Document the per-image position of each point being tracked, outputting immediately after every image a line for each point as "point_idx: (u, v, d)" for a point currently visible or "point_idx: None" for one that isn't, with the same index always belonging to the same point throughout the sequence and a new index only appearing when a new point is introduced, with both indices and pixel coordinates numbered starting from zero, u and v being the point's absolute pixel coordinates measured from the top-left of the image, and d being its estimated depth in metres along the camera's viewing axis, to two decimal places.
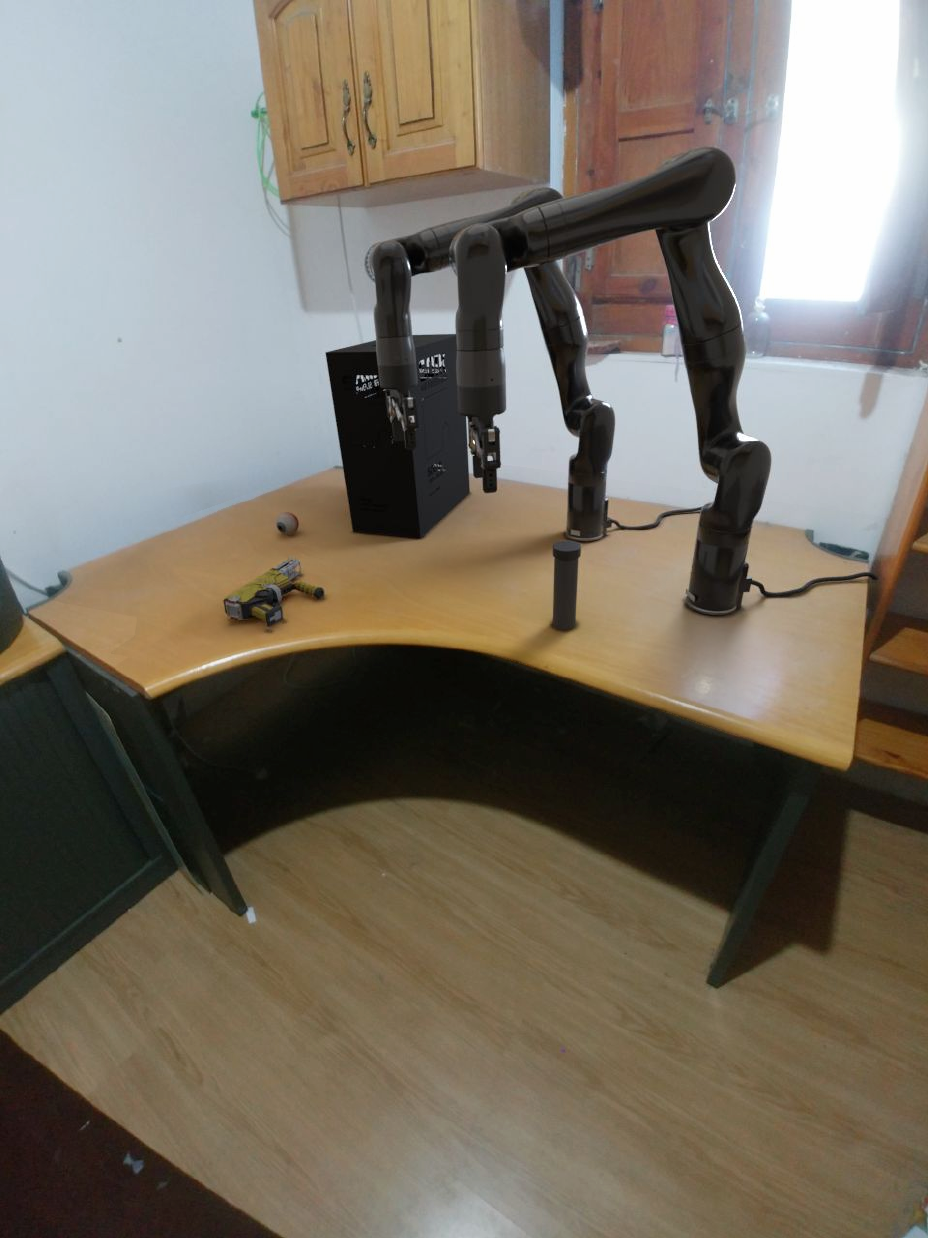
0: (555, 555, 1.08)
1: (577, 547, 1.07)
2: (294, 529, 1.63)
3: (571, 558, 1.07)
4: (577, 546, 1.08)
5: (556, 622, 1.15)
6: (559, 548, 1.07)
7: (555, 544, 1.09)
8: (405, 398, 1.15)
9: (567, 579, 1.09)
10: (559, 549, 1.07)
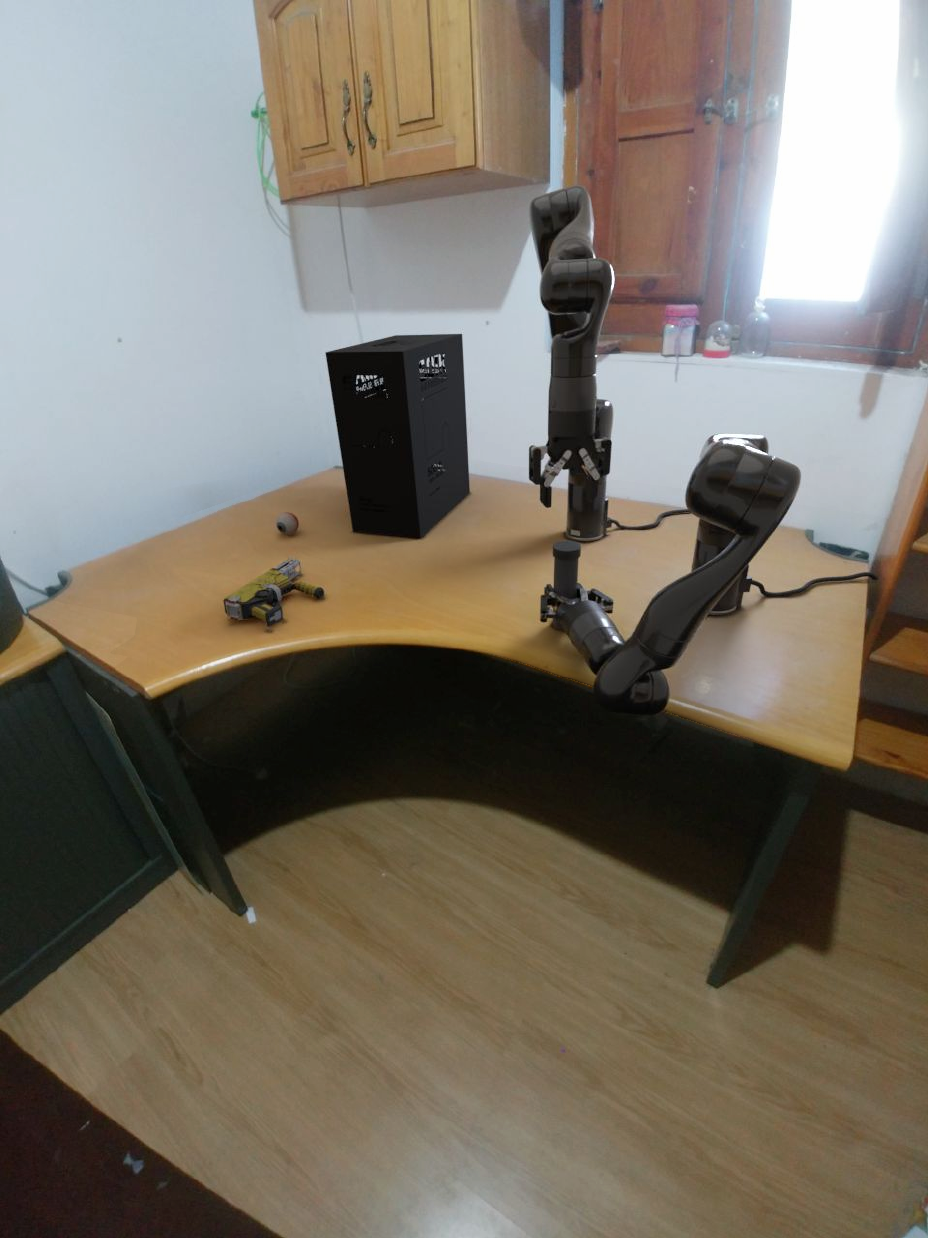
0: (555, 555, 1.08)
1: (577, 547, 1.07)
2: (294, 529, 1.63)
3: (571, 558, 1.07)
4: (577, 546, 1.08)
5: (556, 622, 1.15)
6: (559, 548, 1.07)
7: (555, 544, 1.09)
8: (609, 439, 1.00)
9: (567, 579, 1.09)
10: (559, 549, 1.07)
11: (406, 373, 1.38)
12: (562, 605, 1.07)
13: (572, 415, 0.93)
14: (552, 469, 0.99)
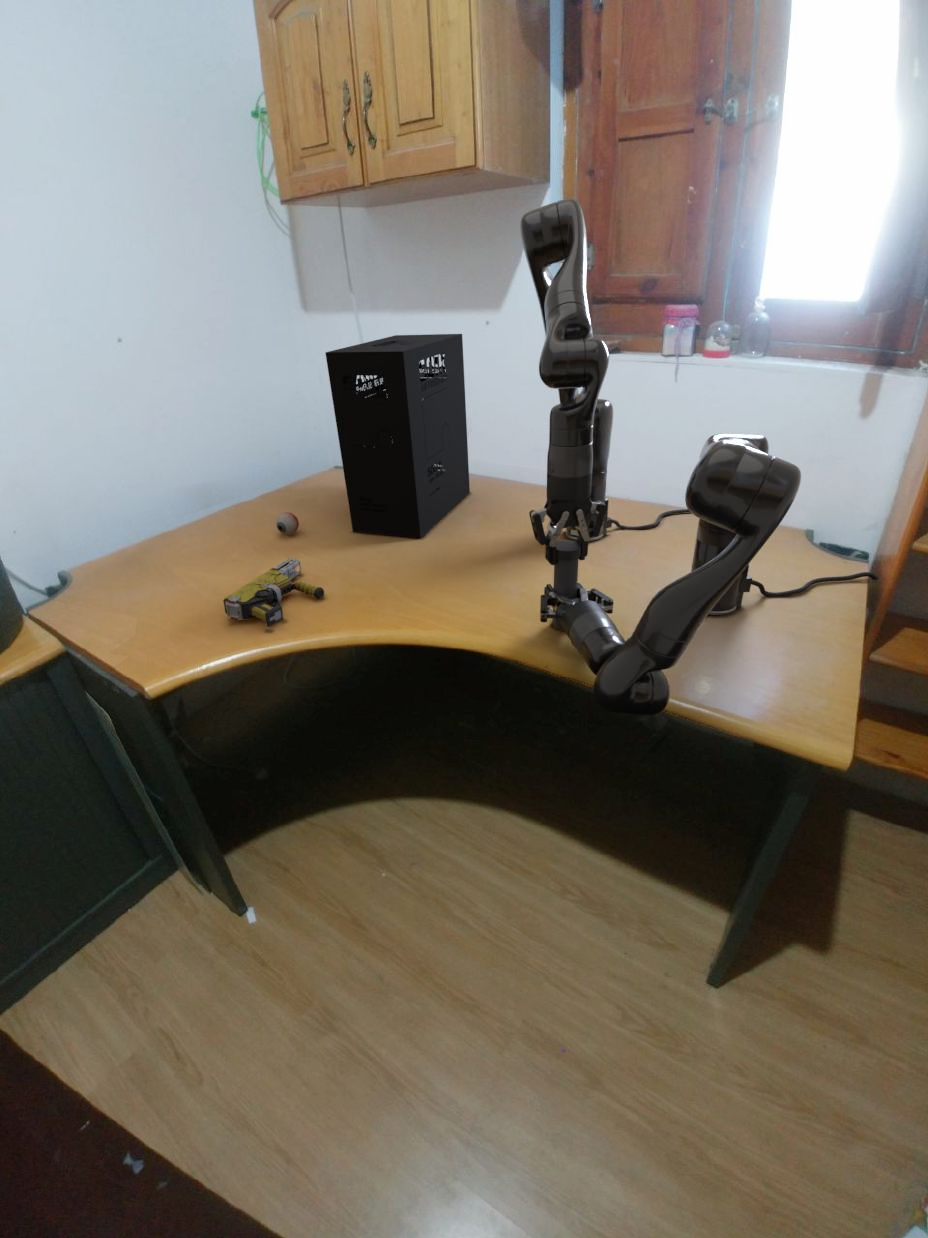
0: None
1: (577, 547, 1.07)
2: (294, 529, 1.63)
3: (571, 558, 1.07)
4: (577, 546, 1.08)
5: (556, 622, 1.15)
6: (559, 548, 1.07)
7: (555, 544, 1.09)
8: (604, 504, 1.05)
9: (567, 579, 1.09)
10: (559, 549, 1.07)
11: (406, 373, 1.38)
12: (562, 605, 1.07)
13: (569, 481, 0.98)
14: (554, 530, 1.05)
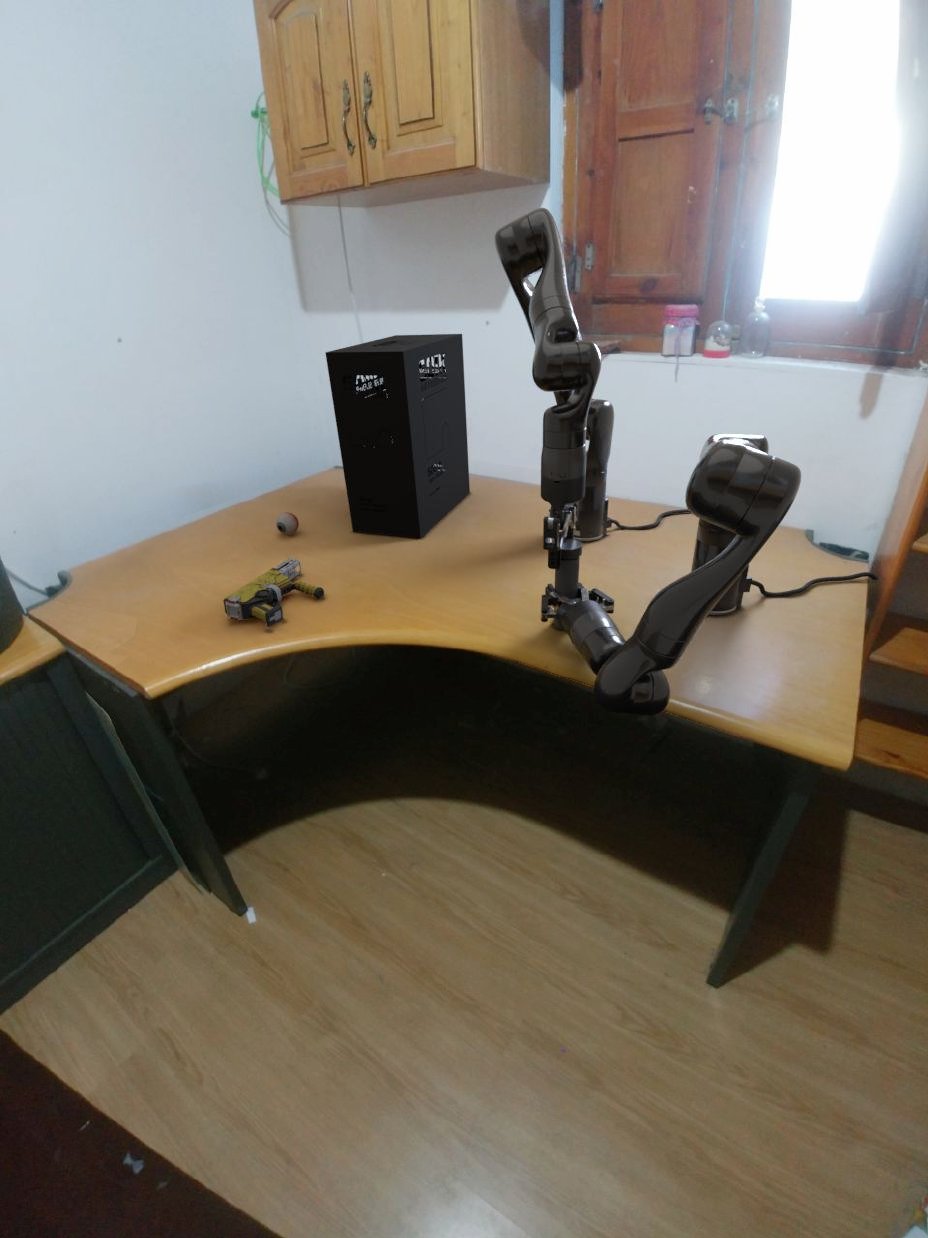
0: (578, 554, 1.07)
1: (570, 539, 1.10)
2: (294, 529, 1.63)
3: None
4: (567, 540, 1.10)
5: (557, 622, 1.15)
6: (576, 546, 1.07)
7: (567, 548, 1.06)
8: None
9: (568, 579, 1.09)
10: (579, 546, 1.07)
11: (406, 373, 1.38)
12: (563, 605, 1.07)
13: (580, 480, 1.00)
14: (562, 533, 1.03)
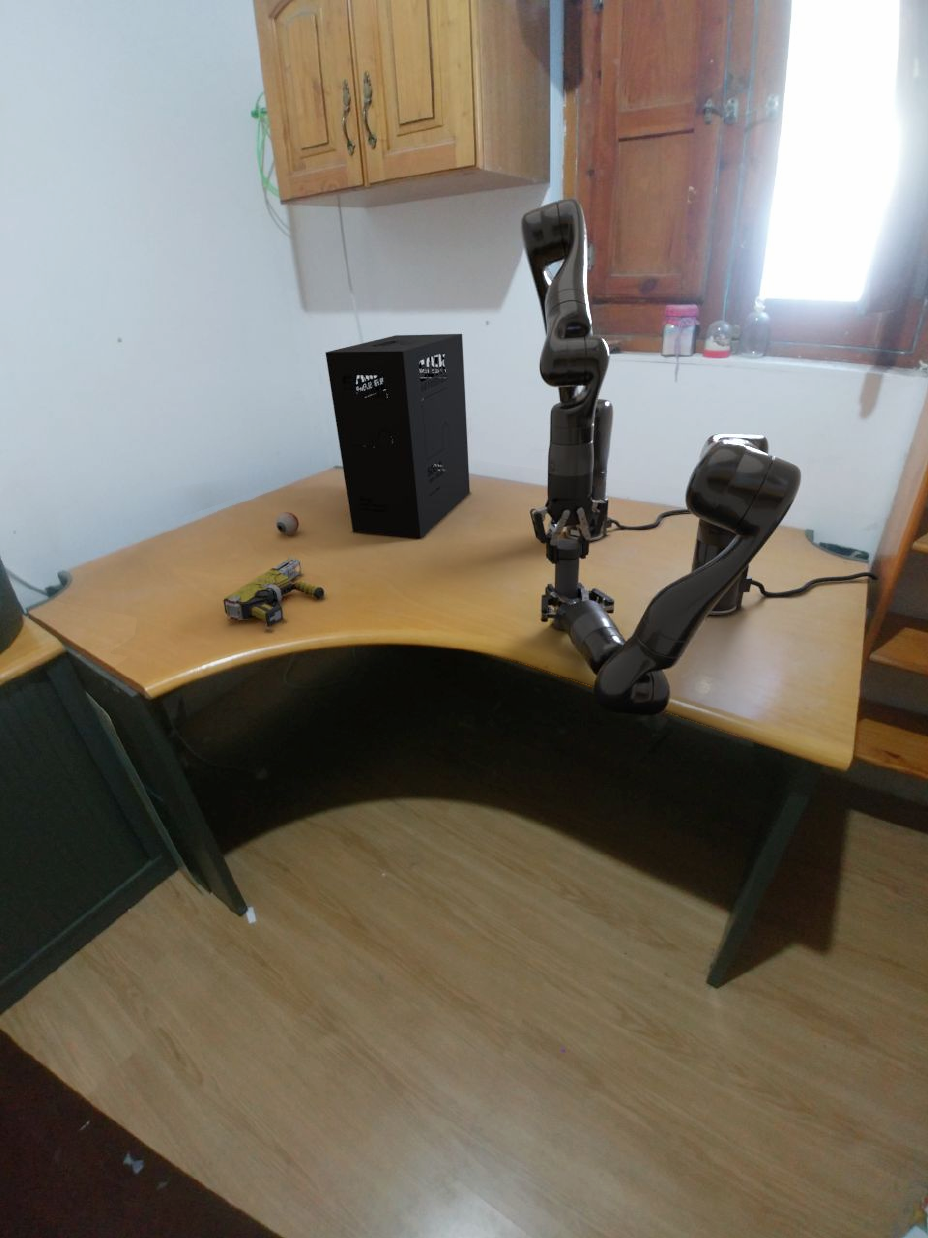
0: (578, 554, 1.07)
1: (570, 539, 1.10)
2: (294, 529, 1.63)
3: None
4: (567, 540, 1.10)
5: (557, 622, 1.15)
6: (575, 546, 1.07)
7: (567, 548, 1.06)
8: (605, 503, 1.05)
9: (568, 579, 1.09)
10: (579, 546, 1.07)
11: (406, 373, 1.38)
12: (563, 605, 1.07)
13: (570, 479, 0.98)
14: (555, 529, 1.05)
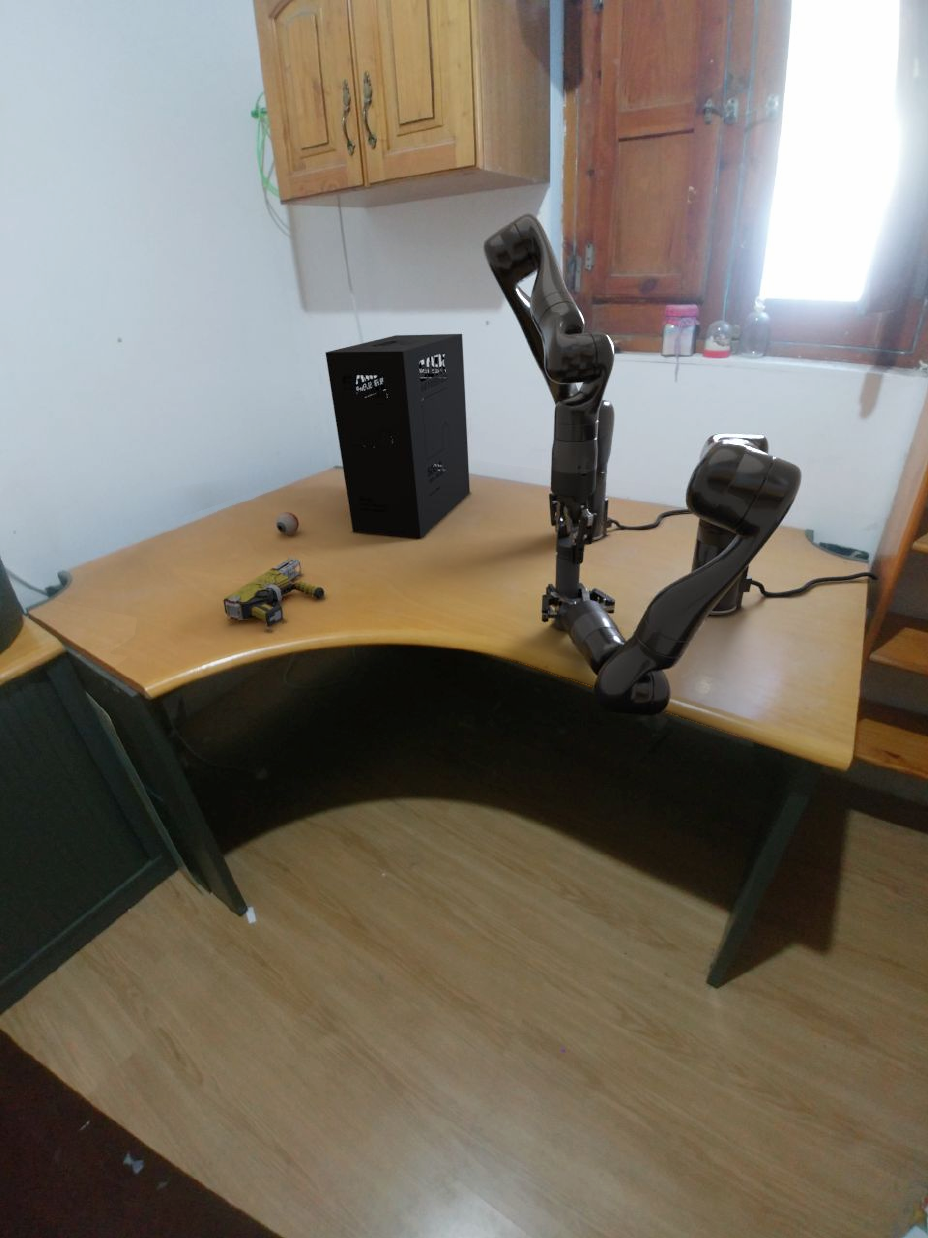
0: None
1: (558, 540, 1.08)
2: (294, 529, 1.63)
3: None
4: (559, 541, 1.08)
5: (558, 622, 1.15)
6: None
7: None
8: None
9: (569, 579, 1.09)
10: None
11: (406, 373, 1.38)
12: (564, 605, 1.07)
13: None
14: None
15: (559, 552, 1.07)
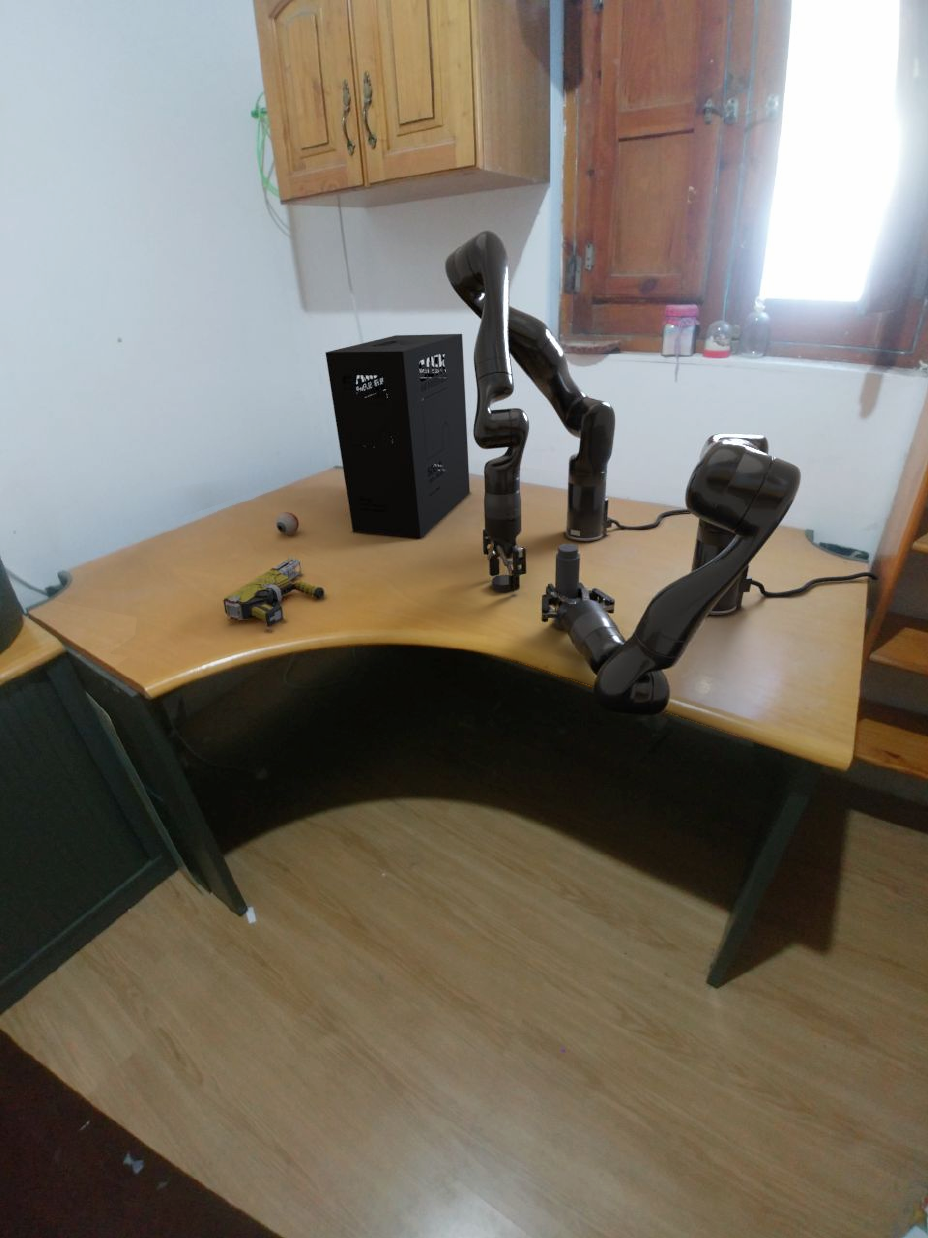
0: None
1: (494, 579, 1.31)
2: (294, 529, 1.63)
3: None
4: (494, 580, 1.30)
5: (558, 621, 1.15)
6: (507, 576, 1.32)
7: None
8: None
9: (568, 578, 1.09)
10: (506, 575, 1.32)
11: (406, 373, 1.38)
12: (564, 605, 1.07)
13: None
14: None
15: (495, 589, 1.30)
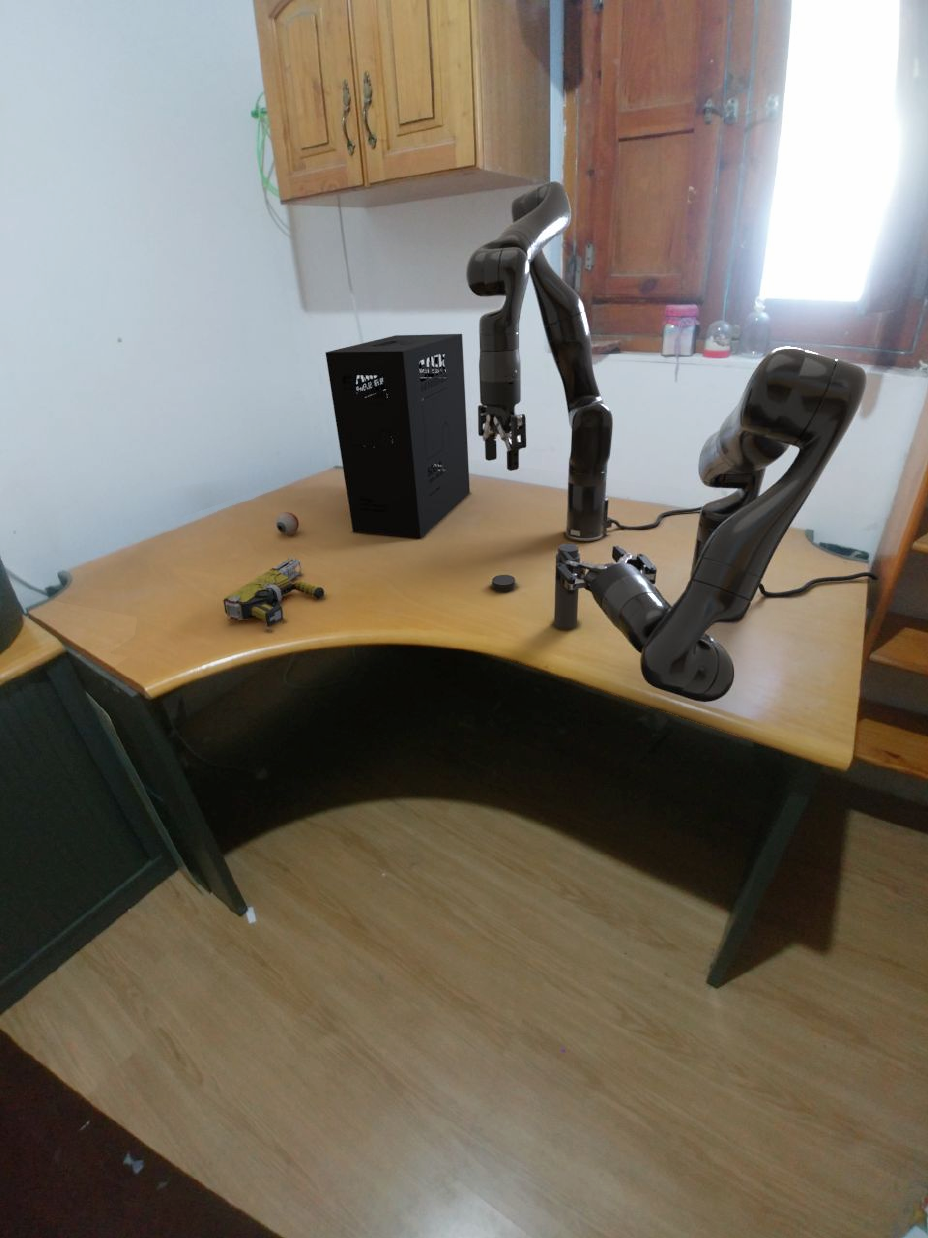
0: None
1: (494, 579, 1.31)
2: (294, 529, 1.63)
3: None
4: (494, 580, 1.30)
5: (558, 621, 1.15)
6: (507, 576, 1.32)
7: (513, 579, 1.31)
8: None
9: None
10: (506, 575, 1.32)
11: (406, 373, 1.38)
12: (592, 571, 0.89)
13: None
14: None
15: (495, 589, 1.30)
